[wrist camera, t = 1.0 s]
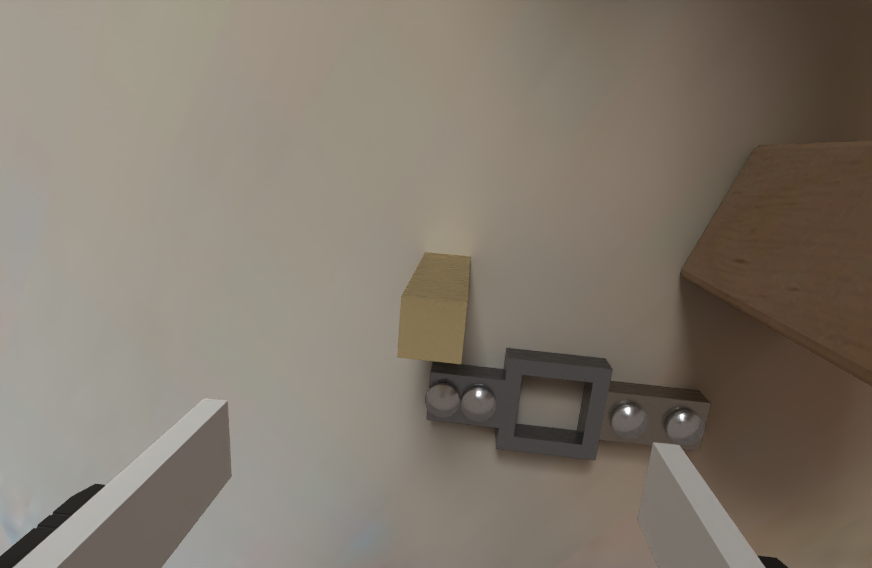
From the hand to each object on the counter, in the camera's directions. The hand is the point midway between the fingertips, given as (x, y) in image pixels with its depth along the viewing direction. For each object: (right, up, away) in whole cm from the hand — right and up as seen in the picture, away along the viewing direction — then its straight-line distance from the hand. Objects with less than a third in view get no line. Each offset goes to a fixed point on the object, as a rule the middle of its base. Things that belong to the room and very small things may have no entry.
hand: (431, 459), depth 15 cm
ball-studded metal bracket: (+9, -4, +24) cm, 26 cm away
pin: (+1, +6, +22) cm, 23 cm away
